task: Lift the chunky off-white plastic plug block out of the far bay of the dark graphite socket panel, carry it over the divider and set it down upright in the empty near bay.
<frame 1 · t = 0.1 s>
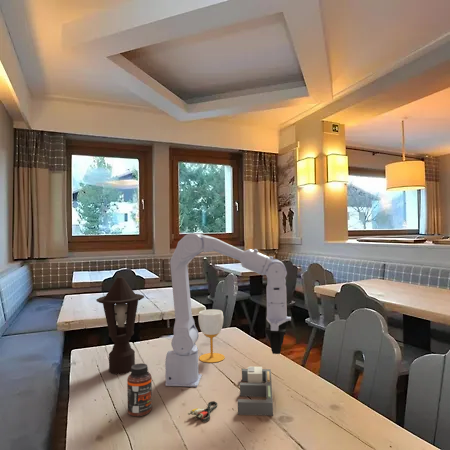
hand: (277, 349, 104), 10 cm above the table, fingers open, 7 cm apart
composite cable: (207, 415, 88), on the table
supplement bottle: (140, 412, 90), on the table
lantern: (122, 369, 117), on the table
socket panel: (256, 395, 97), on the table
cup: (211, 358, 125), on the table
plug: (255, 387, 102), on the table
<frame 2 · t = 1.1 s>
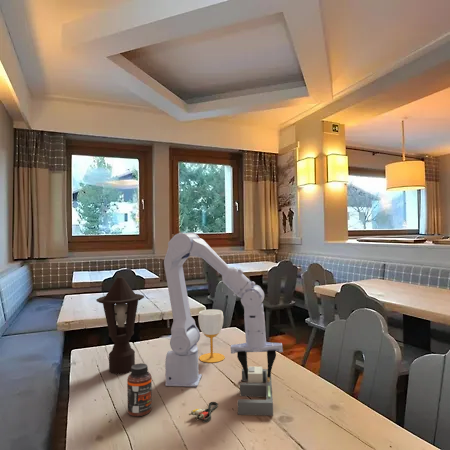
hand: (258, 377, 101), 3 cm above the table, fingers open, 6 cm apart
plug: (255, 387, 102), on the table, touching gripper
everything else where it was.
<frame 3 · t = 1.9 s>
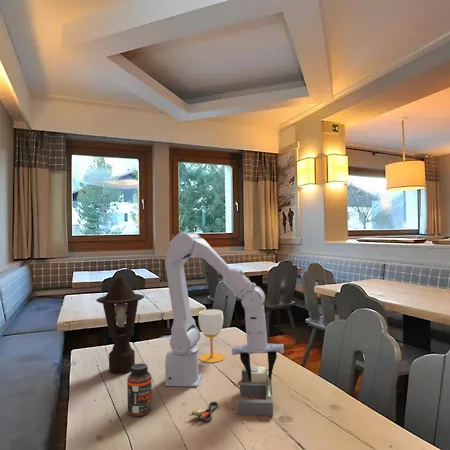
hand: (260, 379, 101), 2 cm above the table, fingers open, 5 cm apart
plug: (258, 387, 101), on the table, touching gripper, socket panel
everything else where it was.
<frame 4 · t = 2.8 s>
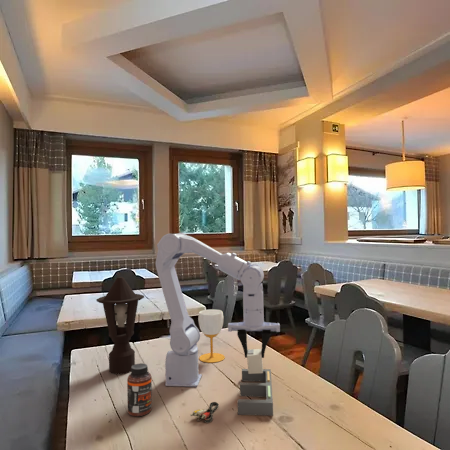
hand: (254, 356, 102), 9 cm above the table, fingers closed on plug, 4 cm apart
plug: (255, 369, 102), point 5 cm above the table, touching gripper
everything else where it was.
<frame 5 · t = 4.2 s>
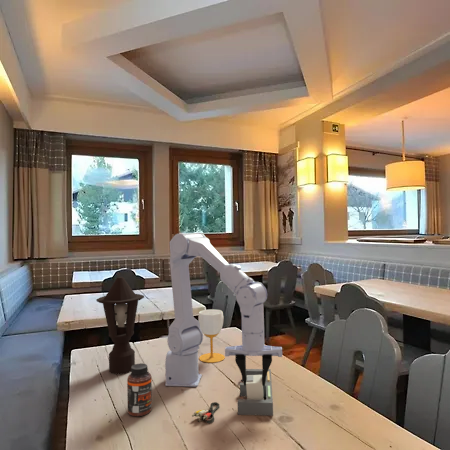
hand: (254, 383, 92), 5 cm above the table, fingers closed on plug, 4 cm apart
plug: (255, 398, 92), point 1 cm above the table, touching gripper
when the fingers open (3 cm above the table, at t = 5.0 s): plug stays where it is, on the table.
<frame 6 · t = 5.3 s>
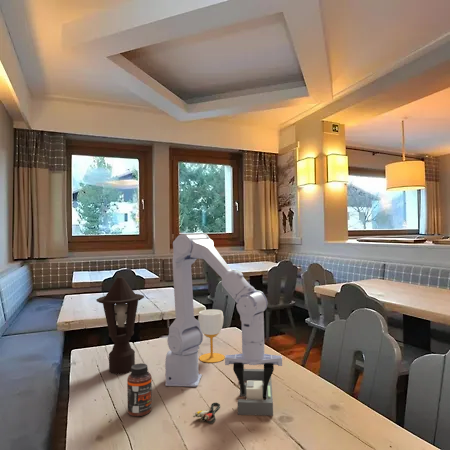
hand: (254, 392, 92), 3 cm above the table, fingers open, 5 cm apart
plug: (255, 404, 92), on the table
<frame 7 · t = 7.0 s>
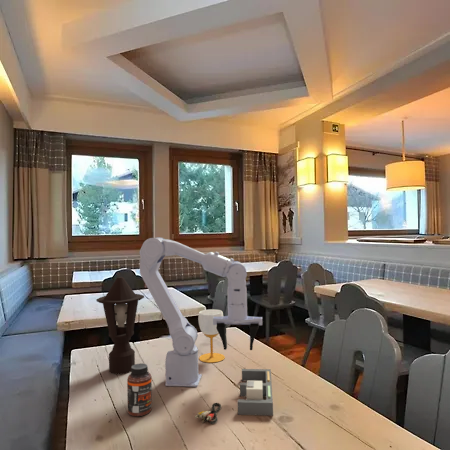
hand: (238, 348, 106), 9 cm above the table, fingers open, 7 cm apart
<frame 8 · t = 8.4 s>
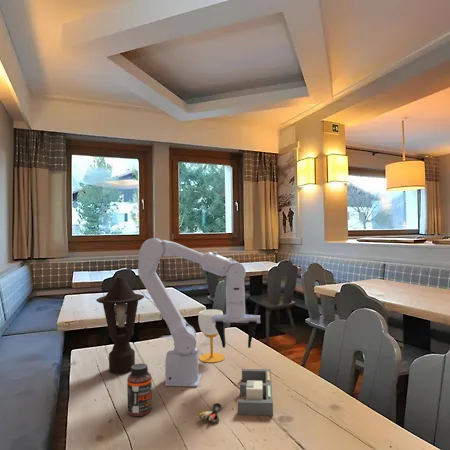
hand: (236, 346, 108), 9 cm above the table, fingers open, 7 cm apart
at the end: plug inside the target area (0.1 cm from its centre), on the table; plug tilted 0°; the gripper is holding nothing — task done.
